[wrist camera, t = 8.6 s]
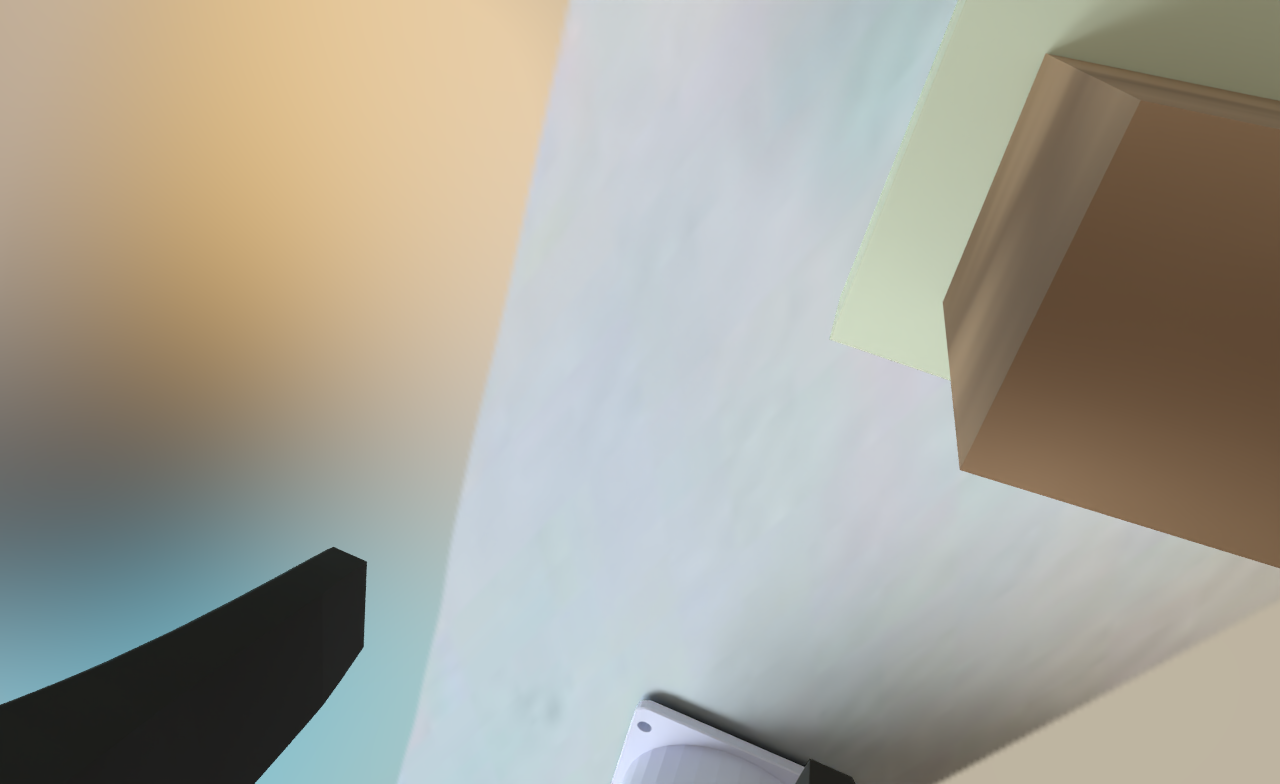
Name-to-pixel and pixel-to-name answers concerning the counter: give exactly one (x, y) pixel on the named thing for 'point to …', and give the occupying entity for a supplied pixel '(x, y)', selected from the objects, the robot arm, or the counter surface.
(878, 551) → the counter surface
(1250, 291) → the walnut block
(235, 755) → the robot arm
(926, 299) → the sage block
